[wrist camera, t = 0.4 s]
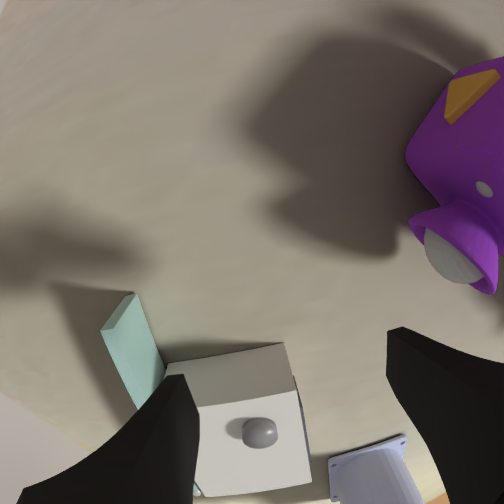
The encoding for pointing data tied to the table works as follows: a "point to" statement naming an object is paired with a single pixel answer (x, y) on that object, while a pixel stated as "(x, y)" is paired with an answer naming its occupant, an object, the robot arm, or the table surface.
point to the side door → (135, 352)
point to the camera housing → (247, 422)
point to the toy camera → (463, 176)
